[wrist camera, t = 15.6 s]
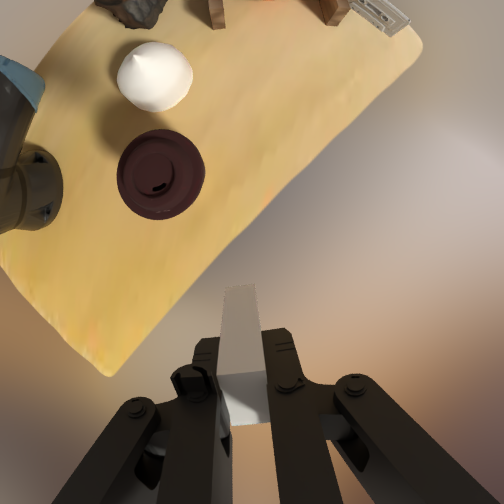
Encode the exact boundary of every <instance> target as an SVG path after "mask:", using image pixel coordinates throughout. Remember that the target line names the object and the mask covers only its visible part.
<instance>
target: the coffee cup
mask: <svg viewBox="0 0 504 504" xmlns="http://www.w3.org/2000/svg"><path fill="white" fill-rule="evenodd" d="M204 178H205V166H204V162H203V160H202V157H201V155H200V153H199V151H198V149H197V148H196V146H195V145H194V144H193V143H192V142H191V141H190V140H189V139H188V138H186V137H185V136H183V135H181V134H179V133H177V132H175V131H171V130H165V129H159V130H152V131H149V132H146V133H144V134H142V135H140V136H138V137H137V138H135V139H134V140H133V141H132V142H131V143H130V144H129V145H128V146H127V147H126V149H125V150H124V152H123V154H122V156H121V158H120V160H119V163H118V168H117V185H118V190H119V193H120V195H121V197H122V199H123V201H124V202H125V204H126V205H127V206H128V207H129V208H130V209H131V210H132V211H133V212H135V213H136V214H138V215H140V216H142V217H144V218H147V219H152V220H164V219H169V218H172V217H175V216H177V215H179V214H180V213H182V212H183V211H185V210H186V209H187V208H188V207H190V205H191V204H192V203H193V202H194V201H195V200H196V198H197V197H198V195H199V193H200V190H201V188H202V185H203V182H204Z"/></svg>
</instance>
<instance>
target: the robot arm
mask: <svg viewBox="0 0 504 504" xmlns="http://www.w3.org/2000/svg"><path fill="white" fill-rule="evenodd" d="M44 90H45V82H44V80H43V78H42V77H41V76H40V75H38V74H37V73H35V72H34V71H32V70H30V69H29V68H27V67H25V66H23V65H21V64H20V63H18V62H15V61H13V60H10V59H8V58H6V57H4V56H2V55H0V234H2V233H5V232H7V231H10V230H12V229H20V230H28V231H35V230H39V229H41V228H44V227H46V226H48V225H49V224H50V223H51V222H52V221H53V220H54V219H55V217H56V216H57V214H58V212H59V209H60V206H61V203H62V197H63V179H62V174H61V170H60V168H59V165H58V163H57V162H56V160H55V159H54V157H53V156H52V155H51V154H49V153H48V152H46V151H42V150H31V151H27V152H25V153H23V154H21V155H20V152H21V149H22V146H23V143H24V140H25V138H26V135H27V132H28V130H29V127H30V124H31V122H32V119H33V117H34V115H35V113H36V112H37V110H38V108H37V107H38V104H39V102H40V100H41V97H42V95H43V93H44ZM170 379H171V381H172V383H173V386H174V388H175V390H176V393H177V395H178V397H177V398H175V399H174V400H171V401H168V402H164V403H160V404H154V403H153V401H152V400H151V399H149V398H146V397H136V398H132V399H130V400H128V401H126V402H125V403H124V404H123V405H122V406H121V407H120V408H119V410H118V411H117V412H116V414H115V415H114V417H113V418H112V419H111V421H110V422H109V424H108V425H107V426H106V428H105V429H104V430H103V432H102V433H101V435H100V436H99V437H98V439H97V440H96V441H95V443H94V444H93V446H92V447H91V448H90V450H89V451H88V453H87V454H86V455H85V457H84V458H83V460H82V461H81V463H80V464H79V465H78V467H77V468H76V470H75V471H74V472H73V474H72V475H71V477H70V478H69V479H68V481H67V482H66V484H65V485H64V487H63V488H62V489H61V491H60V492H59V494H58V495H57V496H56V498H55V499H54V501H53V502H52V504H232V435H231V432H230V421H231V424H232V426H238V425H249V424H258V423H267V422H271V431H272V439H273V448H274V456H275V465H276V473H277V481H278V489H279V498H280V504H343V501H342V497H341V493H340V490H339V486H338V482H337V479H336V475H335V471H334V468H333V464H332V461H331V457H330V454H329V450H328V447H327V443H326V440H331V442H332V443H333V445H334V446H335V448H336V449H337V451H338V452H339V454H340V455H341V456H342V458H343V459H344V461H345V462H346V464H347V465H348V467H349V468H350V469H351V471H352V472H353V473H354V475H355V476H356V478H357V479H358V481H359V482H360V483H361V485H362V486H363V488H364V489H365V490H366V492H367V493H368V494H369V495H370V497H371V499H372V500H373V501H374V503H375V504H500V503H499V502H498V501H497V500H496V499H495V498H494V497H493V496H492V495H491V494H490V493H489V492H488V491H487V490H485V489H484V488H483V487H482V486H481V485H480V484H479V483H478V482H477V481H476V480H475V479H474V478H473V477H472V476H471V475H470V474H469V473H468V472H467V471H466V470H465V469H464V468H463V467H462V466H461V465H460V464H459V463H458V462H457V461H455V460H454V459H453V458H452V457H451V456H450V455H449V454H448V453H447V452H446V451H445V450H444V449H443V448H442V447H441V446H440V445H439V444H438V443H437V442H436V441H435V440H434V439H433V438H432V437H431V436H430V435H429V434H428V433H427V432H426V431H425V430H424V429H423V428H422V427H421V426H420V425H419V424H418V423H416V422H415V421H414V420H413V419H412V418H411V417H410V416H409V415H408V414H407V413H406V412H405V411H404V410H403V409H402V408H401V407H400V406H399V405H398V404H397V403H396V402H395V401H394V400H393V399H392V398H391V397H390V396H389V395H388V394H387V393H386V392H385V391H384V390H383V389H382V388H381V387H380V386H379V385H378V384H377V383H376V382H375V381H374V380H373V379H371V378H370V377H368V376H366V375H363V374H349V375H346V376H343V377H342V378H340V379H339V380H338V381H337V382H336V384H335V385H323V384H317V383H314V382H312V381H310V380H308V379H307V378H306V377H305V376H304V374H303V372H302V368H301V365H300V361H299V358H298V355H297V351H296V348H295V345H294V341H293V338H292V334H291V333H290V332H289V331H288V330H286V329H285V328H279V329H272V330H265V331H261V326H260V319H259V311H258V304H257V297H256V290H255V284H250V285H243V286H235V287H227V288H225V296H224V305H223V315H222V324H221V333H220V337H213V338H202V339H201V340H200V341H199V342H198V344H197V345H196V346H195V350H194V356H193V359H192V364H188V365H185V366H182V367H180V368H178V369H177V370H176V371H175V372H173V374H172V376H171V377H170Z"/></svg>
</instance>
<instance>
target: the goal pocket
mask: <svg viewBox="0 0 504 504" xmlns="http://www.w3.org/2000/svg"><path fill="white" fill-rule="evenodd" d="M319 2H320V6H321V9H322V12H323V16H324V19H325V23H326V25H327V26H338V24H339V23H340V22H341V20H342V19H343V18H344V17H345V15H346V14H347V13H348V11H349V10H350V9H351V8H350V5H349V2H348V0H319ZM208 3H209V11H210V16H211V21H212V26H213V30H216V29H223V28H225V18H224V8H223V1H222V0H208Z"/></svg>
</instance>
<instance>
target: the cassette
mask: <svg viewBox="0 0 504 504" xmlns="http://www.w3.org/2000/svg"><path fill="white" fill-rule="evenodd" d="M348 2H349V5H350V8H351V9H353V10H354V11H355V12H357V13H358V14H360V15H361V16H362V17H364V18H365V19H366V20H368V21H369V22H370V23H371V24H373V25H374V26H375V27H376V28H378V29H379V30H380V31H381V32H384V33H385V34H387V35H388V36H389V37H392V36H393V35H395V34H396V33H397V32H399V31H400V30H401V29H403V28H404V27H406V26H407V25H408V24H410V22H411V20H410V19H409V18H408V17H407V16H406V15H404V14H403V13H402V12H401V11H400V10H399V9H397V8H396V7H395V6H394V5H392V4H391V3H390V2H389V1H387V0H348Z"/></svg>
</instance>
